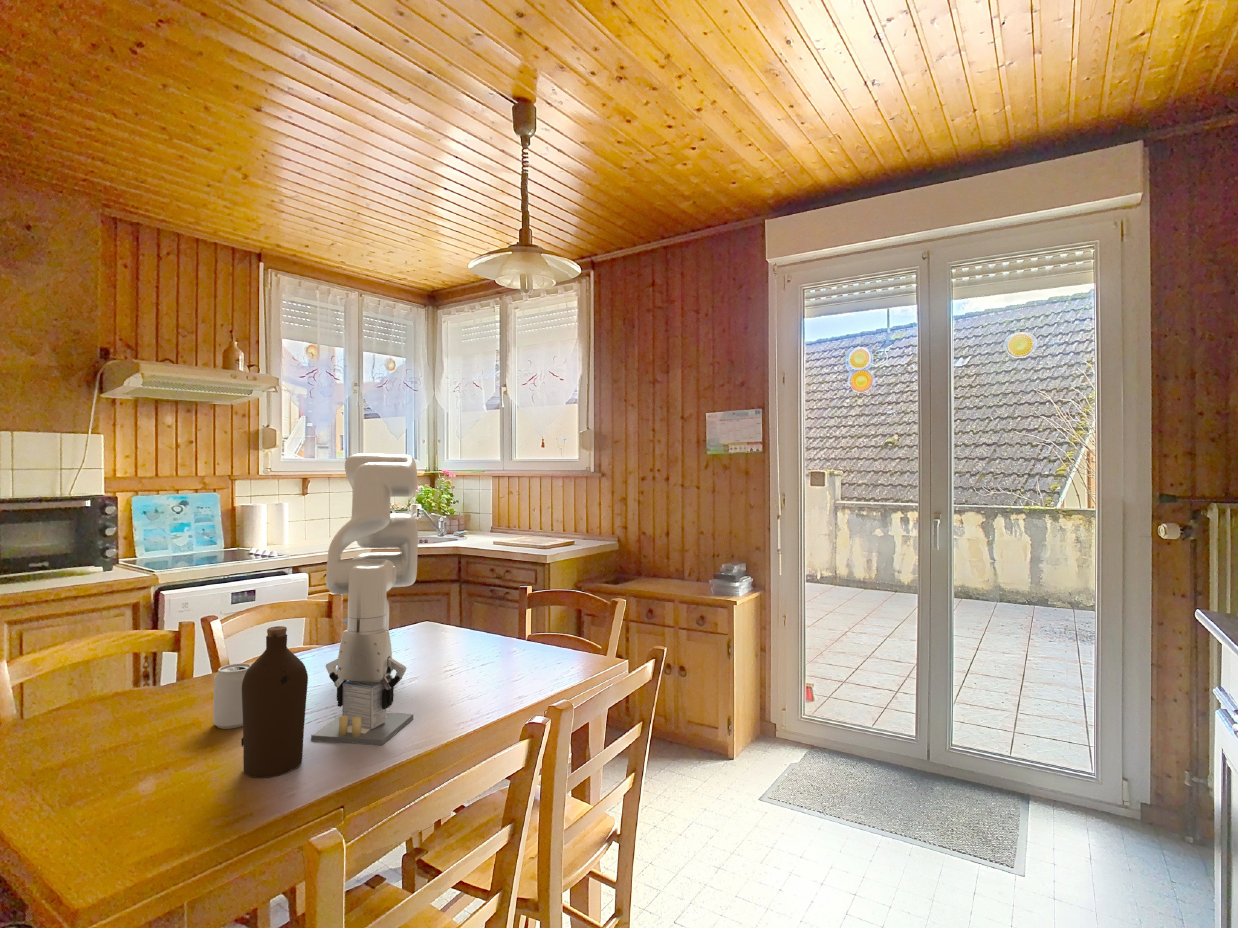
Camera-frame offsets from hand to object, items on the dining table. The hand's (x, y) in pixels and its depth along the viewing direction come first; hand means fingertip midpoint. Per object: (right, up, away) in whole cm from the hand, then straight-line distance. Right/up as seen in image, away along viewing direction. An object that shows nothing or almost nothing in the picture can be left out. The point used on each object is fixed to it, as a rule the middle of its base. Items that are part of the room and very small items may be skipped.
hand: (364, 705), depth 134 cm
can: (-29, -5, +2) cm, 29 cm away
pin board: (0, -5, 0) cm, 5 cm away
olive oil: (-10, -5, -18) cm, 21 cm away
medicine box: (0, -4, 0) cm, 4 cm away
